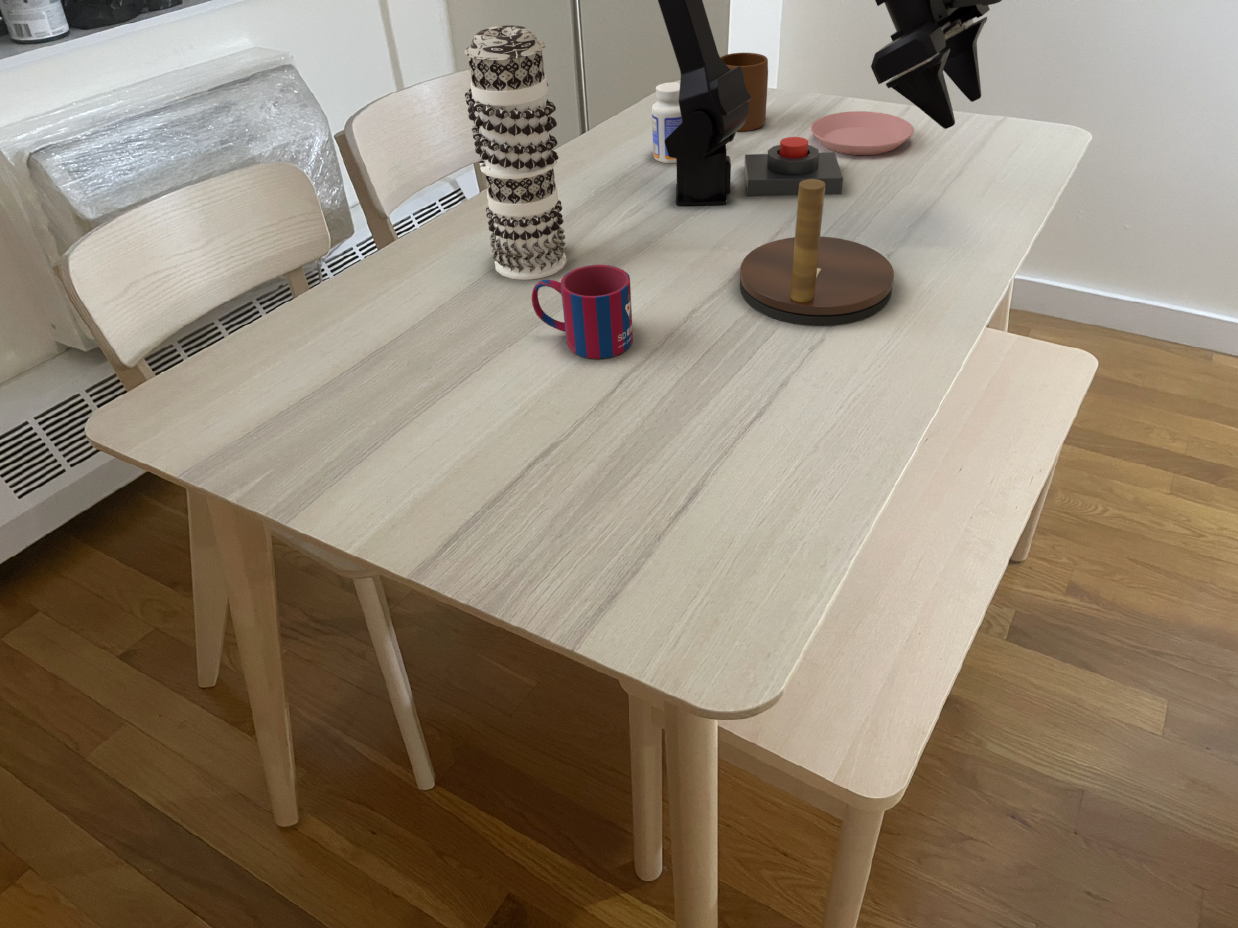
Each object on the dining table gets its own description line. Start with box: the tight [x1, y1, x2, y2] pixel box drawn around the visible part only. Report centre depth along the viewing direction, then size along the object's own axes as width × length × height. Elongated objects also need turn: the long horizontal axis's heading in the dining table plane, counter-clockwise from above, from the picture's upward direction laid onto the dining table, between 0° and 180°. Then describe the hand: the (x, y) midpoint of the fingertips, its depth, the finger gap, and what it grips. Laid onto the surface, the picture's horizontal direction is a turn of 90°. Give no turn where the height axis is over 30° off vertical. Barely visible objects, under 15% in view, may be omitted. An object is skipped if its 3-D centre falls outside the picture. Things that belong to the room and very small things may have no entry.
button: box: [779, 136, 809, 158], centre depth 115 cm, size 4×4×2 cm
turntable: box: [739, 179, 895, 315], centre depth 91 cm, size 16×16×13 cm
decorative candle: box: [464, 24, 568, 281], centre depth 96 cm, size 9×9×25 cm
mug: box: [720, 52, 769, 133], centre depth 132 cm, size 12×8×9 cm, turn 142°
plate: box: [810, 110, 915, 156], centre depth 127 cm, size 14×14×2 cm
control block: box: [743, 144, 844, 197], centre depth 117 cm, size 12×9×4 cm
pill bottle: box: [651, 81, 682, 164], centre depth 124 cm, size 5×5×10 cm
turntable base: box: [739, 279, 893, 327], centre depth 95 cm, size 16×16×1 cm
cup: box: [531, 264, 634, 360], centre depth 88 cm, size 7×10×7 cm
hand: (963, 112), depth 93 cm, fingers open, 9 cm apart
